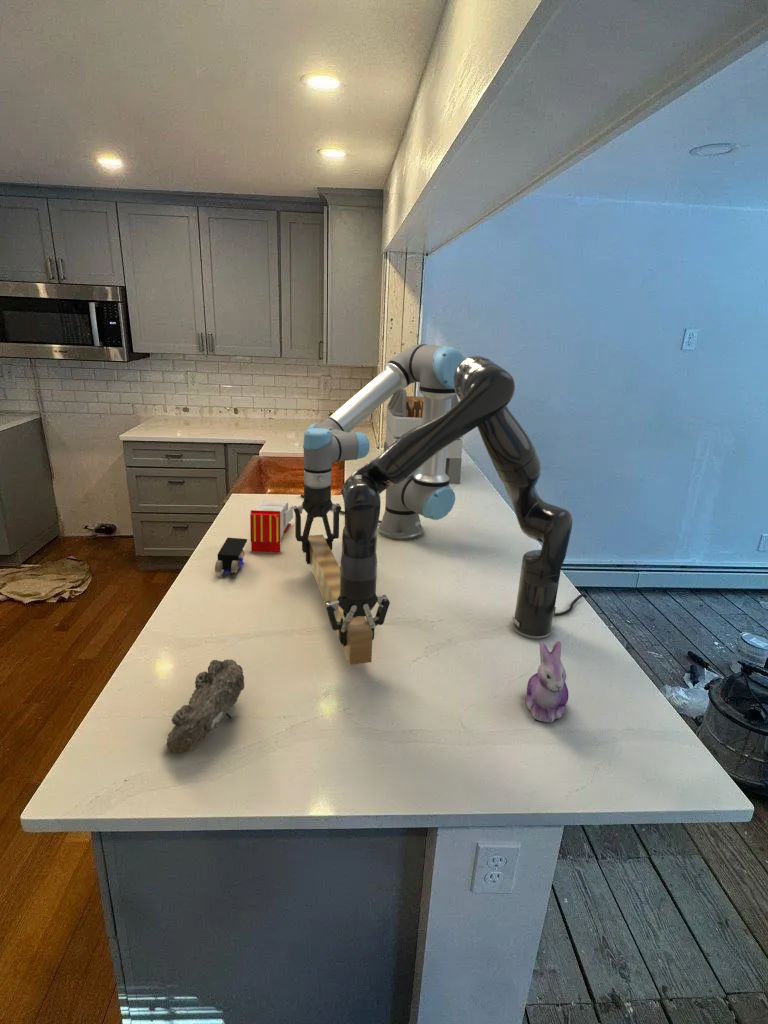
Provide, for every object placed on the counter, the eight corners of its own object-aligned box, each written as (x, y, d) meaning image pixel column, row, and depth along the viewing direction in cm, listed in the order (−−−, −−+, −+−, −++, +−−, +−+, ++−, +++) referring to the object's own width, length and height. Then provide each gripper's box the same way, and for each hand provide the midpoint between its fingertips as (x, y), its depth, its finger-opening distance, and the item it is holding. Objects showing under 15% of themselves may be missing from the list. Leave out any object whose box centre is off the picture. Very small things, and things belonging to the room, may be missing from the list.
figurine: (546, 731, 108) (557, 664, 103) (511, 699, 116) (520, 636, 111) (582, 717, 112) (595, 652, 107) (546, 687, 121) (556, 626, 116)
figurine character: (238, 584, 162) (249, 557, 175) (236, 562, 158) (247, 536, 172) (215, 584, 161) (227, 556, 175) (212, 561, 158) (225, 535, 171)
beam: (306, 558, 168) (306, 535, 165) (322, 557, 169) (322, 534, 167) (349, 665, 119) (350, 635, 116) (371, 662, 120) (372, 632, 118)
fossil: (192, 660, 117) (244, 628, 112) (224, 691, 120) (276, 661, 115) (142, 746, 98) (202, 712, 93) (182, 779, 101) (242, 748, 96)
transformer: (382, 463, 289) (386, 382, 275) (445, 464, 293) (451, 384, 279) (390, 482, 257) (394, 392, 243) (460, 483, 261) (468, 394, 247)
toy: (295, 495, 204) (283, 512, 175) (295, 531, 207) (283, 554, 178) (261, 494, 204) (243, 511, 175) (262, 530, 207) (244, 553, 177)
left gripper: (286, 490, 151) (288, 569, 159) (352, 487, 156) (350, 564, 164) (283, 482, 158) (284, 558, 166) (345, 479, 163) (344, 553, 171)
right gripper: (327, 583, 111) (327, 657, 117) (397, 576, 115) (393, 648, 121) (320, 566, 118) (320, 637, 124) (386, 561, 122) (383, 629, 128)
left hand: (317, 561), depth 165 cm, fingers closed on beam, 5 cm apart
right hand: (356, 642), depth 122 cm, fingers closed on beam, 4 cm apart
